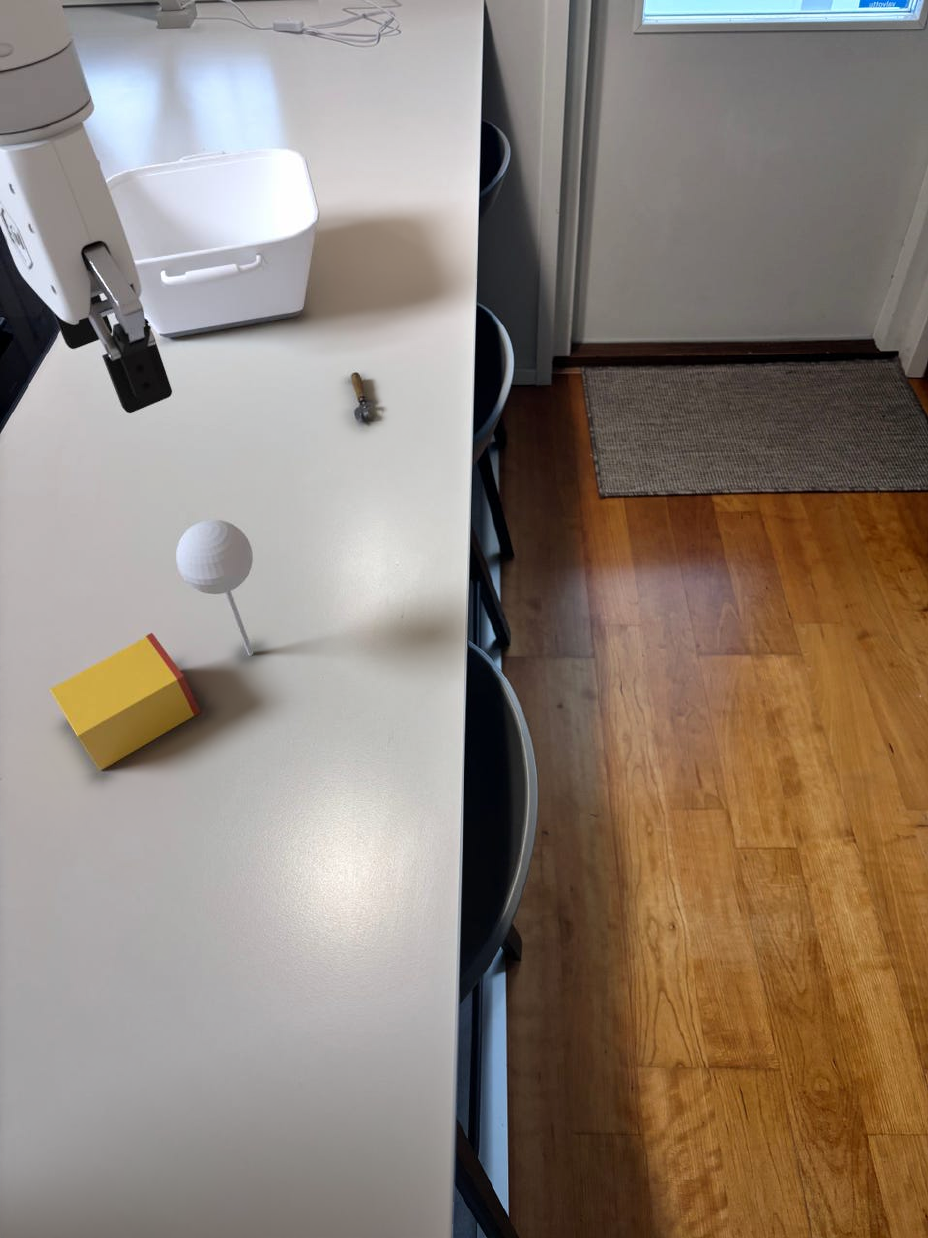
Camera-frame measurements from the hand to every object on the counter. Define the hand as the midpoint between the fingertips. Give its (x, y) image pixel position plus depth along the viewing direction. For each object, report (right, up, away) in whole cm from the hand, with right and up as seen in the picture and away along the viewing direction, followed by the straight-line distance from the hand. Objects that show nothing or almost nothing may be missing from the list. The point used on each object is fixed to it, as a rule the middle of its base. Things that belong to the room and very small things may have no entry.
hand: (118, 370), depth 63 cm
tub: (-8, +26, +64) cm, 69 cm away
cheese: (-5, -25, +17) cm, 31 cm away
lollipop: (+4, -20, +22) cm, 29 cm away
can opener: (+11, +8, +46) cm, 48 cm away
